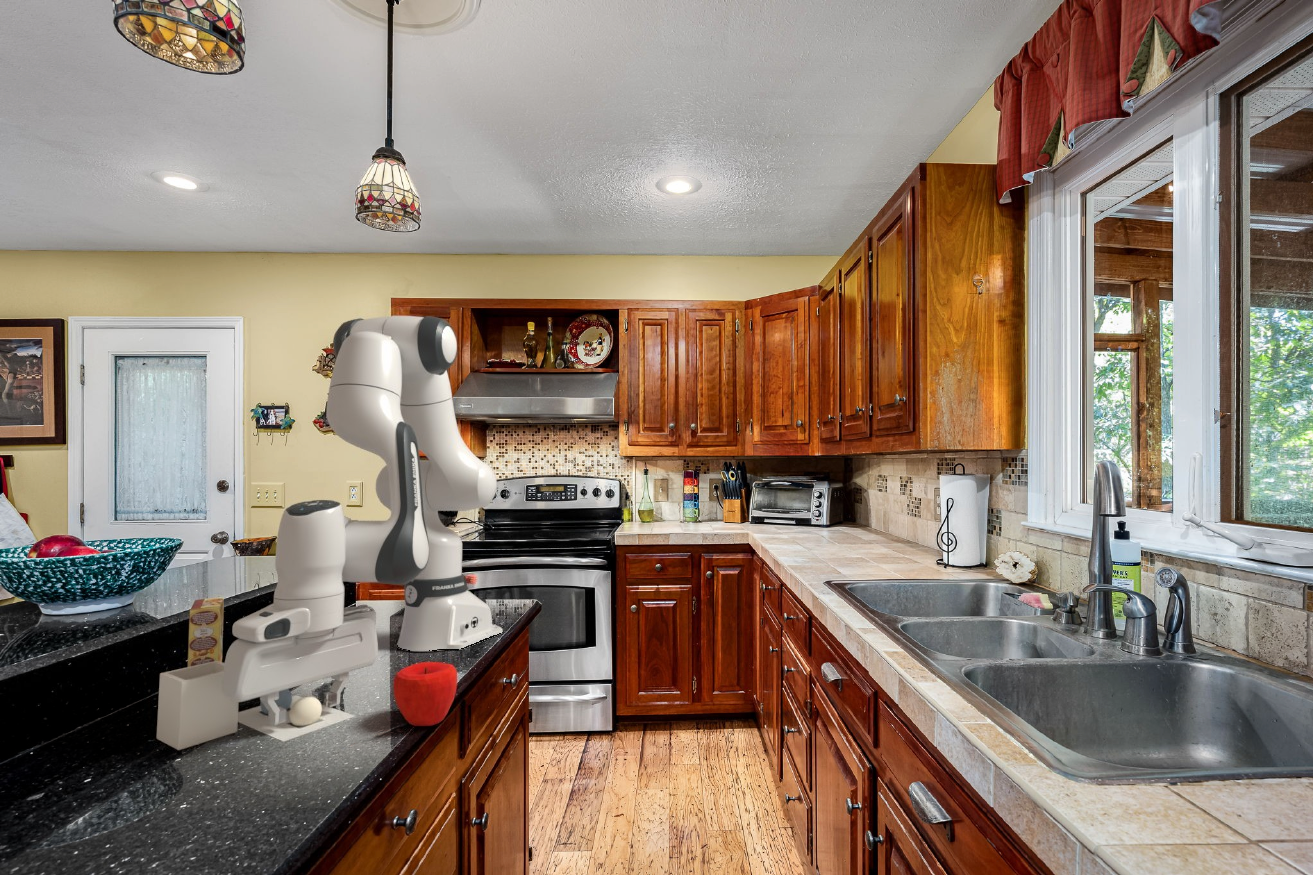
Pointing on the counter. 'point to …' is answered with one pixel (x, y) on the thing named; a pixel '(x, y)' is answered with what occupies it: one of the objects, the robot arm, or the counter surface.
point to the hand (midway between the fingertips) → (305, 713)
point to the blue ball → (280, 701)
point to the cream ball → (305, 711)
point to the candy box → (205, 631)
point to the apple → (425, 692)
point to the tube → (194, 706)
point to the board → (285, 730)
